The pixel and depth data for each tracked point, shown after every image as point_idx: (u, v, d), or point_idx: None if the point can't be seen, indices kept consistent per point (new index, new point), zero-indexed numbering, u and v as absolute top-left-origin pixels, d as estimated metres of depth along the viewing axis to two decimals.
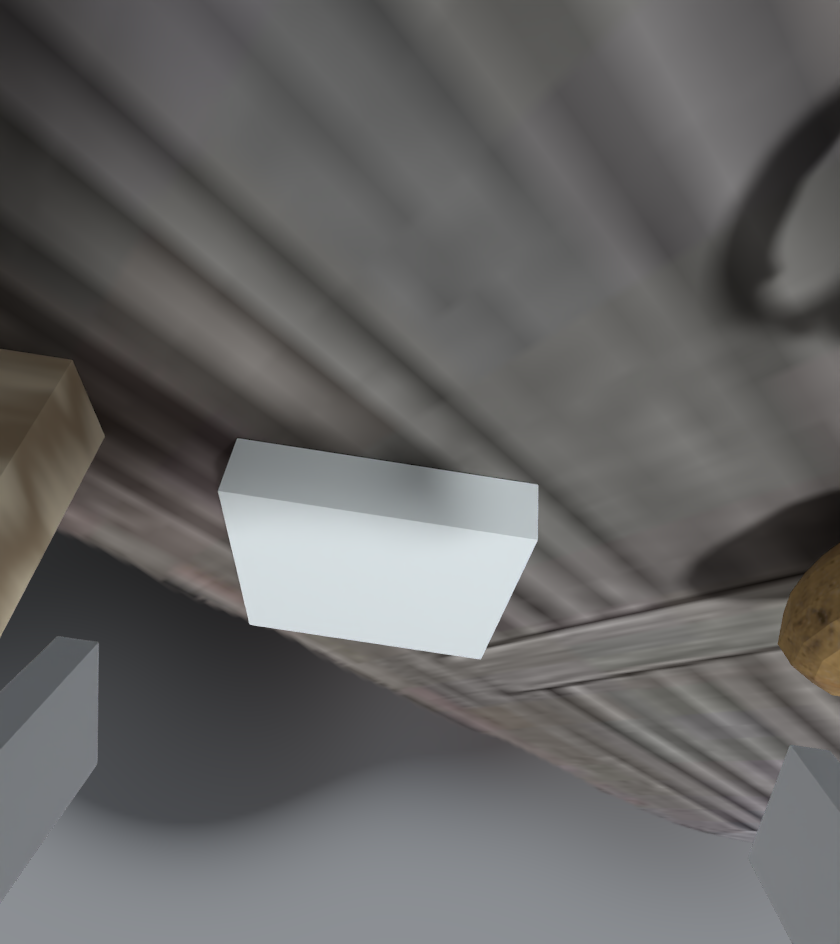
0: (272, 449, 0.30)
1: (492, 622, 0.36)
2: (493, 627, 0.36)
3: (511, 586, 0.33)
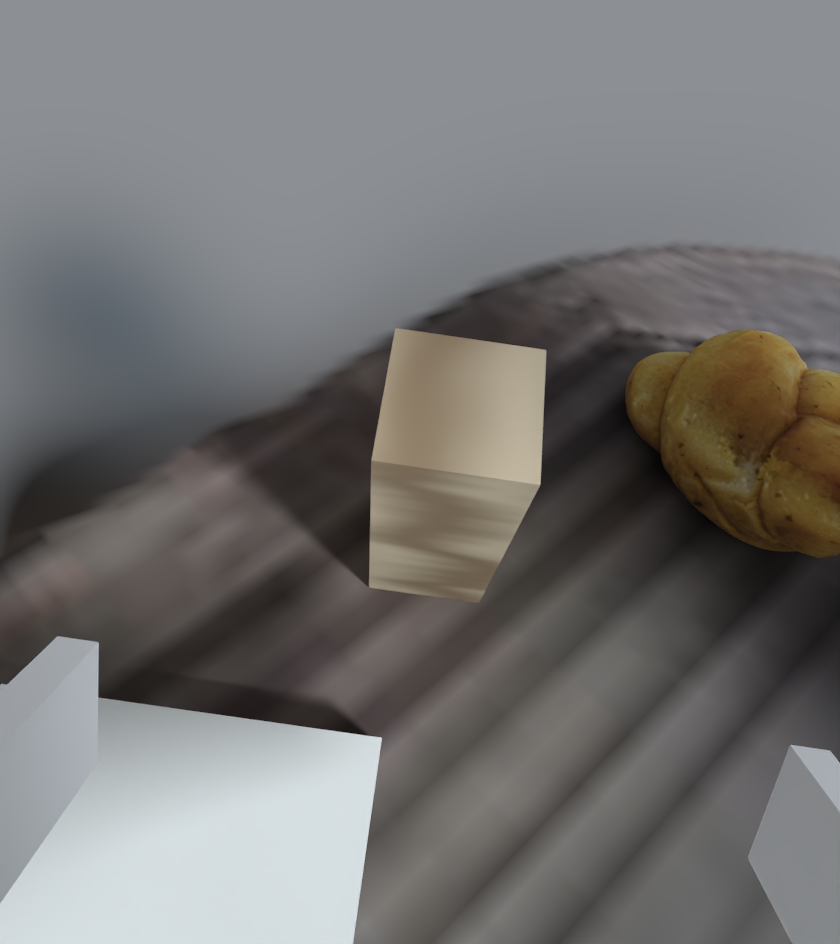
0: None
1: None
2: None
3: None
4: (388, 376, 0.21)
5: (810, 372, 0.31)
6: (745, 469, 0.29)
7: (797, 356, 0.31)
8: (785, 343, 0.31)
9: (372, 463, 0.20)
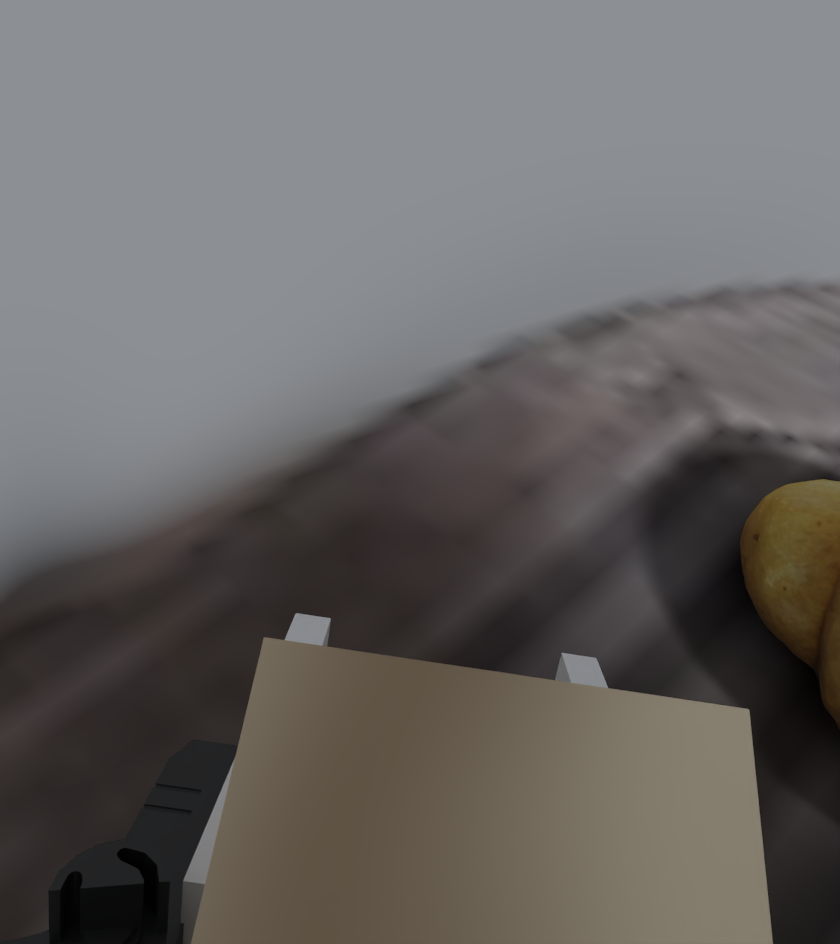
0: None
1: None
2: None
3: None
4: (219, 860, 0.06)
5: None
6: None
7: None
8: None
9: None
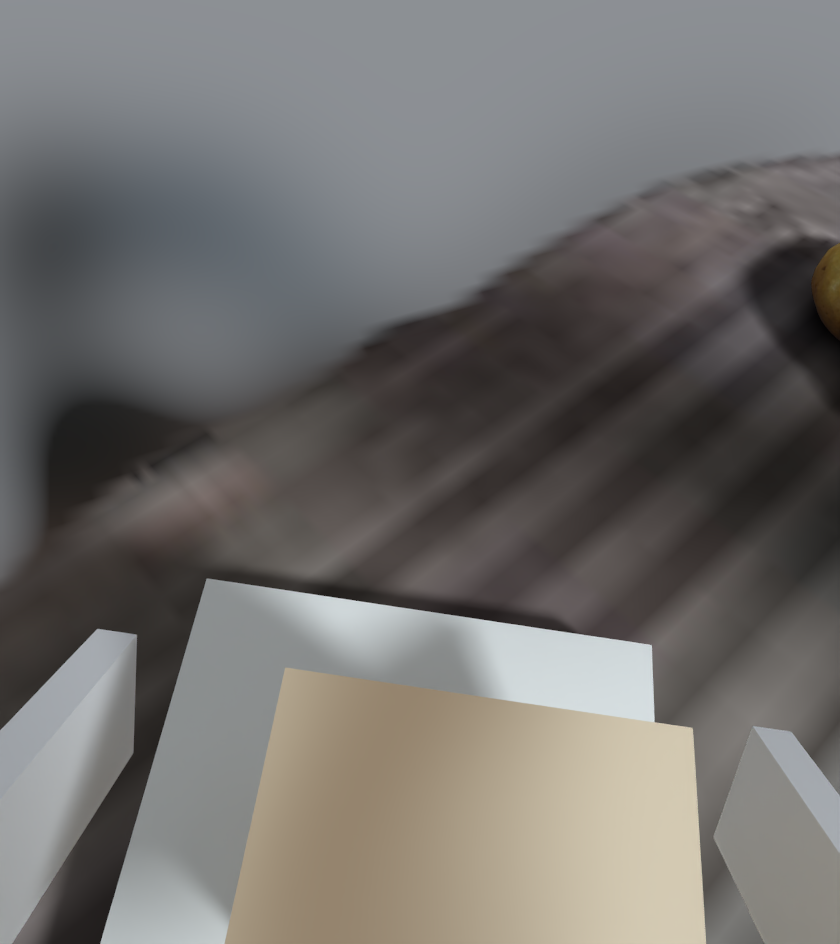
0: None
1: None
2: None
3: None
4: (251, 854, 0.07)
5: None
6: None
7: None
8: None
9: None
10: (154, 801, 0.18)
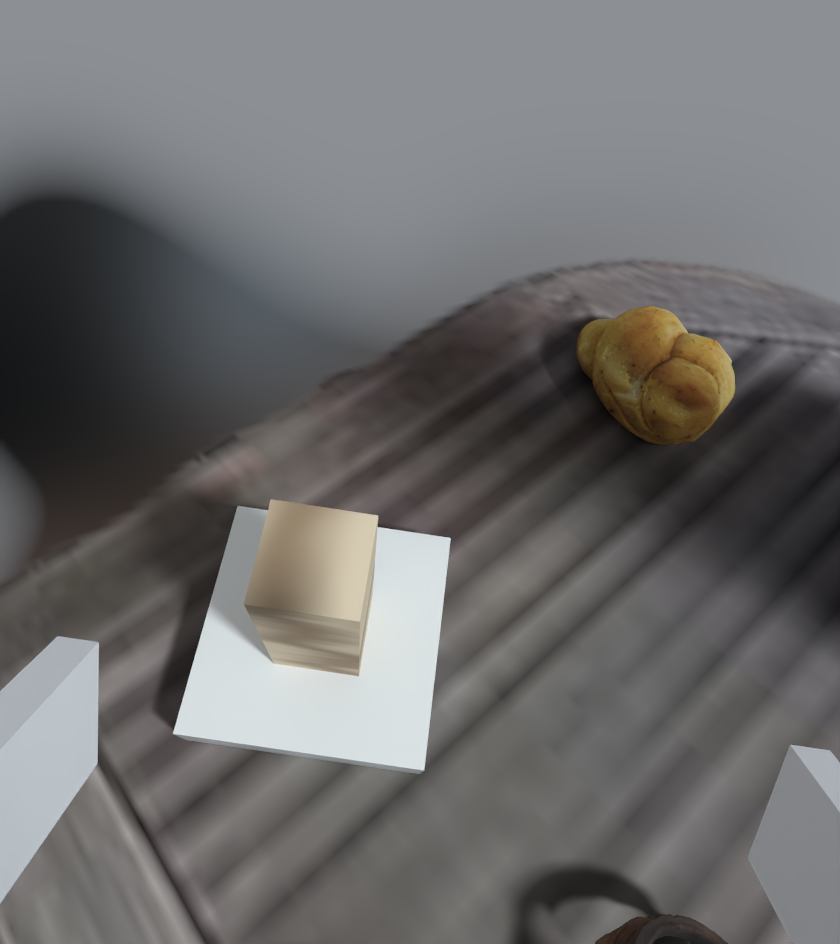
0: None
1: (268, 741, 0.37)
2: (257, 743, 0.37)
3: (344, 755, 0.37)
4: (262, 538, 0.30)
5: (685, 334, 0.50)
6: (635, 385, 0.48)
7: (678, 324, 0.50)
8: (671, 315, 0.50)
9: (245, 605, 0.29)
10: (217, 598, 0.41)
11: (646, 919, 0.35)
